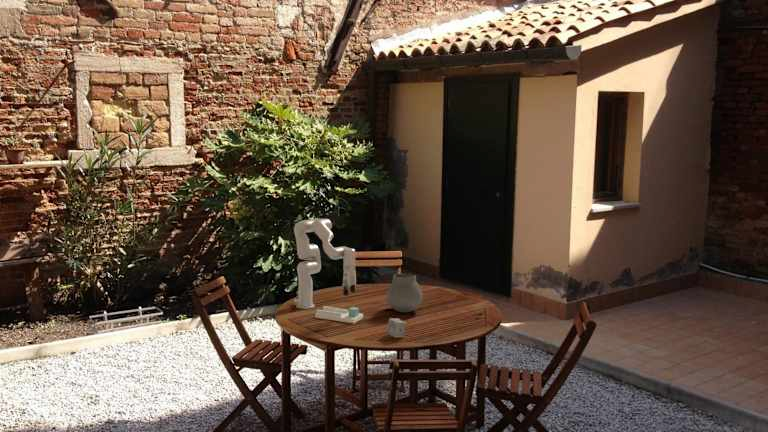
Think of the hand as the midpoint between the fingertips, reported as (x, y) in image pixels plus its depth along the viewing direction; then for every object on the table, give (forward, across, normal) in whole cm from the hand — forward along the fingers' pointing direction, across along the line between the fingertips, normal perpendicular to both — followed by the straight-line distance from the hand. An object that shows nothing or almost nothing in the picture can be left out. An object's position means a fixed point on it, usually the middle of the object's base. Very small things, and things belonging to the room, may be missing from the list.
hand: (349, 293), depth 456 cm
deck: (+17, 0, +7) cm, 18 cm away
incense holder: (+18, -17, -41) cm, 48 cm away
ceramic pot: (+18, +34, -24) cm, 46 cm away
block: (+15, 0, -3) cm, 15 cm away
